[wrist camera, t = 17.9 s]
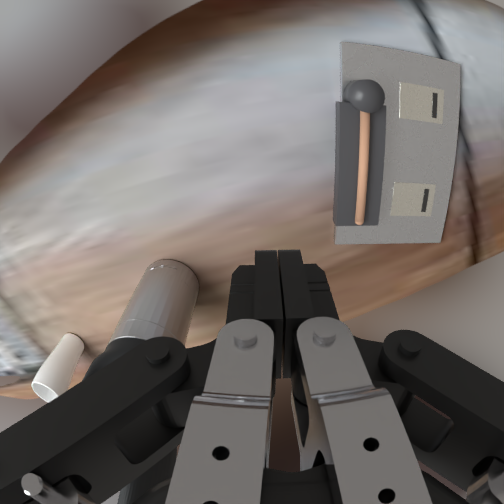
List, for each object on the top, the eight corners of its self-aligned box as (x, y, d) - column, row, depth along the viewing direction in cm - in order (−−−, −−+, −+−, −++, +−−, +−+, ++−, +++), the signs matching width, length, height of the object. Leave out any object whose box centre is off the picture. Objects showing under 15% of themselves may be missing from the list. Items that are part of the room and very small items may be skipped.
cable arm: (335, 78, 34) (343, 77, 30) (380, 82, 34) (392, 82, 30) (332, 220, 43) (339, 232, 39) (373, 219, 43) (383, 231, 39)
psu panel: (437, 239, 45) (440, 243, 44) (333, 241, 46) (335, 244, 45) (456, 64, 32) (460, 64, 31) (339, 42, 33) (341, 41, 32)
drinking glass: (55, 331, 57) (24, 382, 44) (76, 327, 56) (44, 381, 43) (73, 353, 60) (46, 405, 47) (93, 350, 59) (67, 405, 46)
